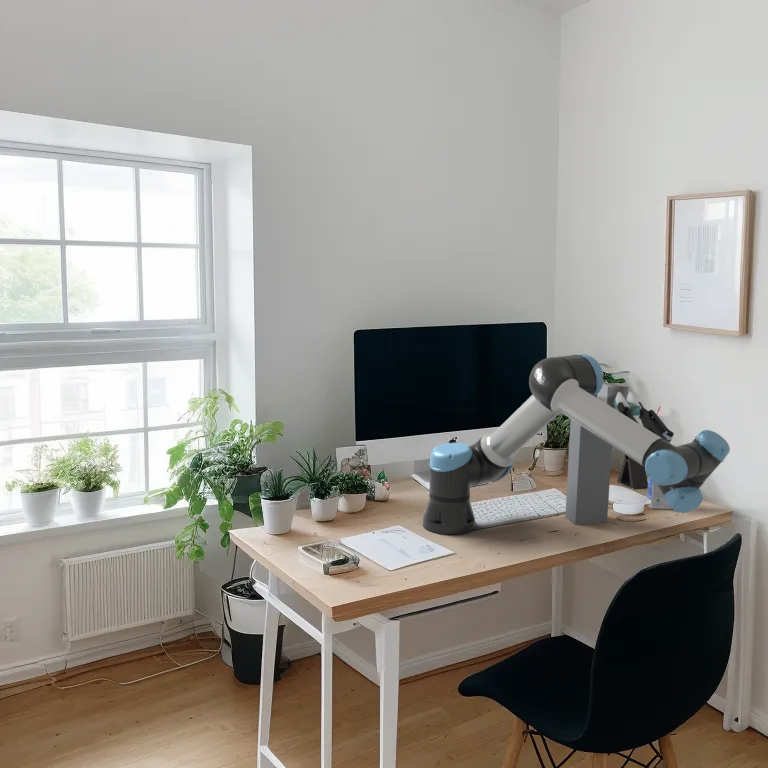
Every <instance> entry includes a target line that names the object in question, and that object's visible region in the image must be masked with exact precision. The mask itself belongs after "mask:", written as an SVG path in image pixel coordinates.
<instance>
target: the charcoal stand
mask: <svg viewBox="0 0 768 768" xmlns="http://www.w3.org/2000/svg"><path fill="white" fill-rule="evenodd" d="M569 425H570V426H569V427H570V428H569V442H568V443H569V445H568V464H567V465H568V466H567V480H566V481H567V482H566V497H565V498H566V499H565V500H566V503H565V518H567V519H568V520H569V521H570V522H572V523H573V524H574V525H591V524H592V525H593V524H594V525H595V524H607V523H608V517H609V516H608V513H609V512H608V511H609V498H610V484H611V483H610V481H611V467H612V466H611V464H612V449H613V446H612V445H610V444H608V443H607V442H605V441H604V440H602V439H601V438H599V437H598V436H596V435H595V434H593V433H592V432H590V431H589V430H587V429H586V428H584V427H582V426H581V425H579V424H578V423H576V422H575V421H573V420H572V419H570V424H569Z"/></svg>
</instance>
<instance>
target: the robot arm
mask: <svg viewBox="0 0 768 768" xmlns="http://www.w3.org/2000/svg"><path fill="white" fill-rule="evenodd" d="M528 379H529V380H528V384H529V385H528V386H529V389H530V392H531V395H530V396H529V398H527V399H526V401H524V402H523V403H522V404H521V406H520V407H519V408H517V409H516V410H515V411H514V412H513V413H512V414H511V415H510V416H509V417H508V418H507V419H506V420H505V421H504V422H503V423H502V424H500V426H499V427H498V428H497V429H496V430H495V431H493V432H486V433H485V434H483V435H482V436H481V437H480V438H479V439H478V440H477V441H476V442H475V443H473V444H471V445H469V444H467V443H464V442H452V443H451V442H445V443H442V444H439V445H437V446H435V447H434V448H433V449H432V450H431V453H430V460H429V498H428V502H427V504H426V506H425V511H424V513H423V516H422V527H423V528H425V530H428V531H430V532H433V533H436V534H441V535H442V534H443V535H460V534H467V533H470V532H472V531H473V530H474V529H475V528H476V517H475V514H474V510H473V506H472V503H471V487H474V486H475V487H476V486H479V485H484V484H488V483H493V482H494V483H495V482H497V481H499V480H502V479H504V478H505V477H507V476H508V475H509V474H510V472H511V471H512V469H513V464H514V462H515V457H516V454H517V453H518V452H519V451H520V450H521V449H522V448H523V447H524V446H526V445H527V444H528V443H529V442H530V441H531V440H532V439H533V438H534V437H535V436H536V435H538V434H539V433H540V432H541V431H542V430H543V429H544V428H545V427H546V426H547V425H548V424H549V423H550V422H552V421H553V420H554V419H555V418H556V417H557V416H558V415H559V414H562V415H564V416H566V417H567V418H569V419H570V420H571V419H572V420H573V421H575V422H576V423H578V424H579V425H581V426H582V427H584V428H586V429H587V430H589V431H590V432H592V433H593V434H595V435H596V436H598V437H599V438H601V439H602V440H604V441H605V442H607V443H608V444H610V445H612V448H615V449H616V450H618V451H620V452H621V453H622V454H623V455H624V456H625V455H627V456H628V457H630V458H631V459H633V460H634V461H636V462H638V463H639V464H641V465H642V466H644V467H645V471H646V475H647V478H648V477H649V478H650V480H651V481H652V482H654V483H655V484H658V486H659V488H660V490H661V492H662V493H663V495H664V498H665V499H666V500H667V502H668V503H669V505H670V506H671V507H672V509H671V510H673V511H675V512H677V513H682V514H684V513H689V512H691V511H695V510H696V509H697V508H698V507H699V506H701V504H702V502H703V498H704V496H703V494H702V491H701V489H700V488H701V487H702V486H703V484H704V483H705V482H706V481H707V479H708V478H709V477H710V476H711V475H712V474H713V472H714V471H715V470H716V469H717V468H718V467H719V466H720V465H721V464H722V463H723V462H724V461H725V459H726V458H727V456H728V455H729V453H730V451H731V448H730V445H729V443H728V441H727V440H726V439H725V438H724V437H723V436H721V434H719V433H718V432H715V431H713V430H710V429H704V430H701V431H700V432H699V433H698V434H697V435H696V436H694V439H693V440H692V441H691V442H688V443H684V444H680V445H677V446H676V445H673V444H672V443H670V442H672V439H673V437H674V435H675V433H674V432H673V431H672V430H670V428H668V427H667V426H666V424H665V423H664V422H663V421H662V420H661V418H660V417H659V416H658V414H657V413H656V412H655V410H654V409H649V410H647V409H646V408H645V407H644V406H643V404H642V403H641V402H640V401H638V400H637V398H636V396H635V395H634V393H633V392H632V391H628V396H627V399H626V400H627V401H628V402H631V403H633V404H636V405H639V406H640V414H639V415H637V416H638V420H640V421H641V424H640V423H639V422H638V420H637V419H636V418H635V417H634V416H633V415H632V414H631V413H630V412H629V409H630V407H629V405H628V404H627V402H626V400H625V399H624V397H623V395H622V394H621V392H618V393H617V396H616V399H615V401H616V402H617V404H618V405H617V408H618V410H619V411H618V410H615V409H614V408H612V407H611V406H609V405H607V404H606V403H604V402H603V401H601V400H599V399H598V398H597V394H598V393H599V392H600V390H601V388H602V386H603V383H604V372H603V369H602V367H601V365H600V364H599V362H598V360H597V359H596V358H594V357H593V356H591V355H588V354H580V353H575V354H571V355H562V356H556V357H555V356H554V357H553V356H552V357H547V358H543V359H541V360H540V361H538V362H537V363H536V364H535V365H534V366H533V367H532V370H531V371H530V375H529V378H528Z"/></svg>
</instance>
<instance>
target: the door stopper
mask: <svg viewBox="0 0 768 768" xmlns="http://www.w3.org/2000/svg"><path fill="white" fill-rule="evenodd" d="M617 483H618V484H620V483H621V485H623V486H625V487H627V488H630V489H632V488H633V489H632V490H637V489H646V488H647V489H648V475H647V474H646V471H645V467H644V466H642V465H641V464H639V463H638V462H636V461H634V460H633V459H631V458H630V457H628V456H627V455H625V454H624V460H623V463H622V465H621V469H620V472H619V474H618V478H617Z"/></svg>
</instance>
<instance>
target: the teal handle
mask: <svg viewBox="0 0 768 768" xmlns="http://www.w3.org/2000/svg"><path fill="white" fill-rule="evenodd" d="M618 392H621V394H622V395H623V397H624V399H625V400H626V399H627V396H628V394H629V386H628V385H626V384H622V383H619V382H603V386H602V388H601V390H600V392H599V393H598V394H597V395H596V398H598V399H599V400H601V401H603V402H604V403H606V404H607V405H609V406H611V407H612V408H614V409H615V410H617V411H619V410H618V408H617V405H618V404H617V402H616V401H615V399H616V396H617V393H618ZM626 402H627V404H628V405H629V407H630V409H629V412H630V413H631V414H632V415H633V417H634V416H637V415H638V416H639V415H640V406H639V405H636V404H633V403H631V402H628V401H627V400H626Z"/></svg>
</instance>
